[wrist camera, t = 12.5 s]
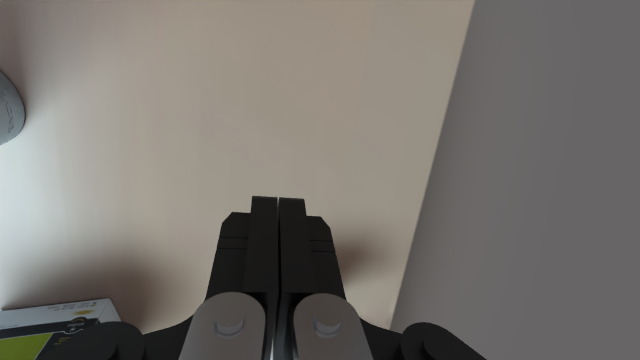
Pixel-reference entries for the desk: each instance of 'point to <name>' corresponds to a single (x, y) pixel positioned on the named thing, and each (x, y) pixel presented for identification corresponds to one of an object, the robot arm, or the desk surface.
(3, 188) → the desk surface
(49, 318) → the tea box
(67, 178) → the desk surface
